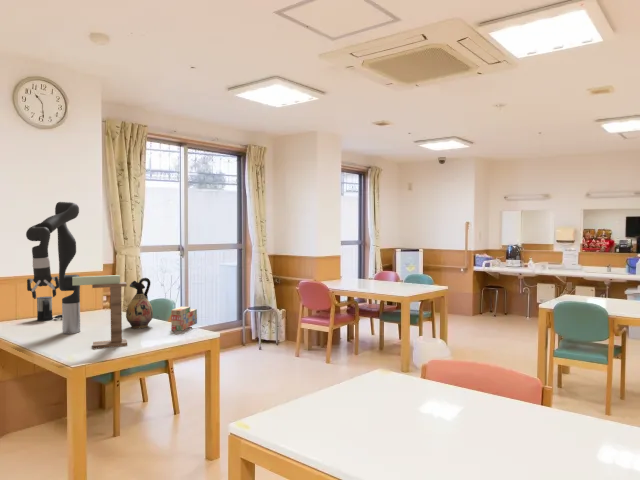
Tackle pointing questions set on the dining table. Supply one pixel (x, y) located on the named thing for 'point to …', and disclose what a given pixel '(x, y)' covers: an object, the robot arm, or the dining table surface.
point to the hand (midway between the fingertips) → (44, 297)
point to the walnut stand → (113, 317)
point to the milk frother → (45, 309)
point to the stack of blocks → (183, 318)
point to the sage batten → (96, 280)
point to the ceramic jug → (139, 306)
